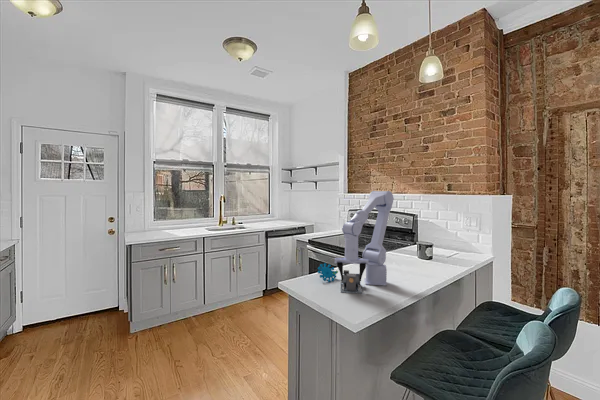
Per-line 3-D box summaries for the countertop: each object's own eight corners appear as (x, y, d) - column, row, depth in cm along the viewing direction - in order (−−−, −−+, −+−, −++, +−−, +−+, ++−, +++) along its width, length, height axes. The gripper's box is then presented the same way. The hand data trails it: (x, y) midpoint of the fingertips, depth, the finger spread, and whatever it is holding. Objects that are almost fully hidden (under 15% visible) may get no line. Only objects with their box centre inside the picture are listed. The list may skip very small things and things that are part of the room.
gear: (320, 280, 134) (316, 261, 141) (315, 286, 138) (312, 268, 145) (341, 281, 138) (336, 263, 145) (336, 287, 142) (331, 269, 149)
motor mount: (360, 284, 133) (360, 270, 133) (361, 293, 122) (362, 277, 121) (340, 283, 135) (340, 269, 135) (340, 292, 123) (340, 276, 123)
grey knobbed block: (355, 287, 128) (355, 273, 128) (355, 291, 123) (356, 277, 122) (346, 286, 128) (346, 273, 128) (346, 290, 123) (346, 277, 123)
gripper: (334, 250, 123) (334, 281, 123) (369, 251, 121) (368, 283, 121) (334, 247, 130) (334, 276, 130) (367, 248, 128) (367, 278, 128)
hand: (351, 279), depth 126 cm, fingers open, 7 cm apart
